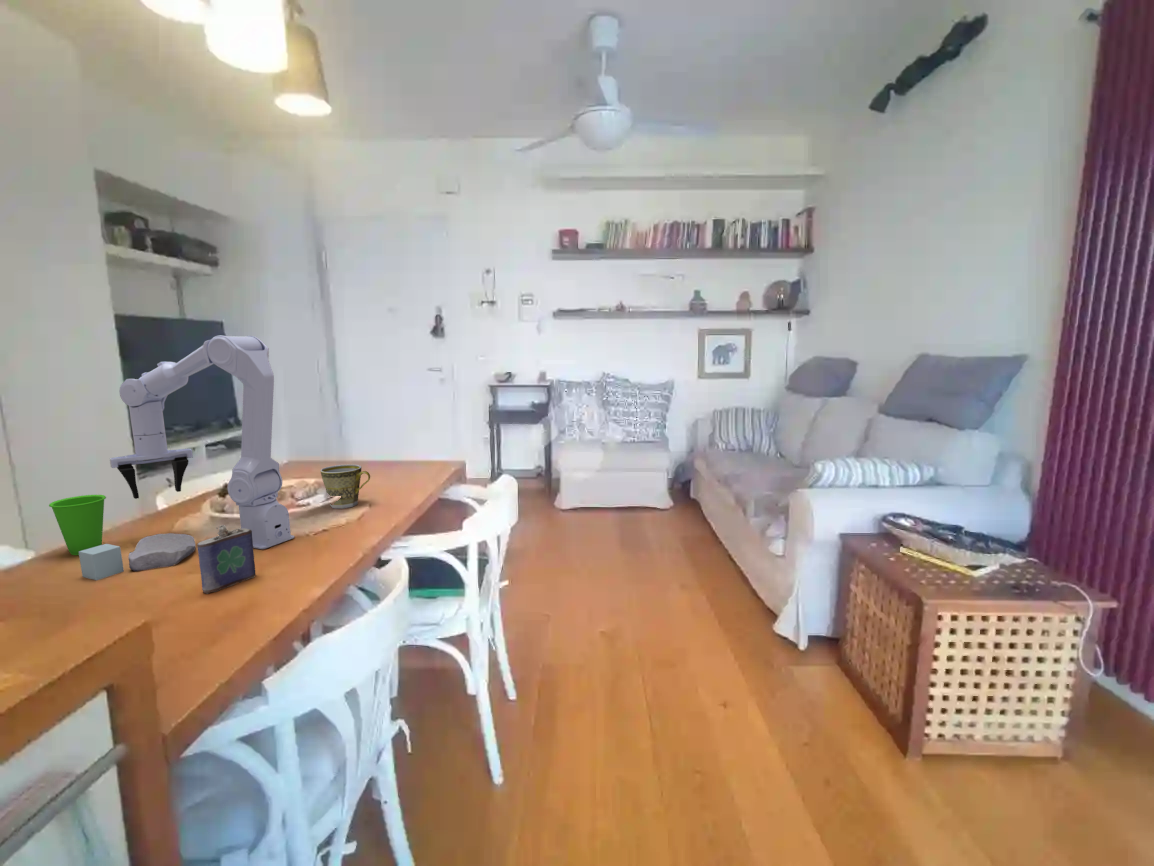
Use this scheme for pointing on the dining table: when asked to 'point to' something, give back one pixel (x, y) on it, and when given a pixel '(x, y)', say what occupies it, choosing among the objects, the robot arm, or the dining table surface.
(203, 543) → the flask
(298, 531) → the dining table surface
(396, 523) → the dining table surface
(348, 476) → the ceramic cup
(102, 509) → the cup
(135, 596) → the dining table surface
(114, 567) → the cube
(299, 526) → the dining table surface
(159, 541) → the stone block
